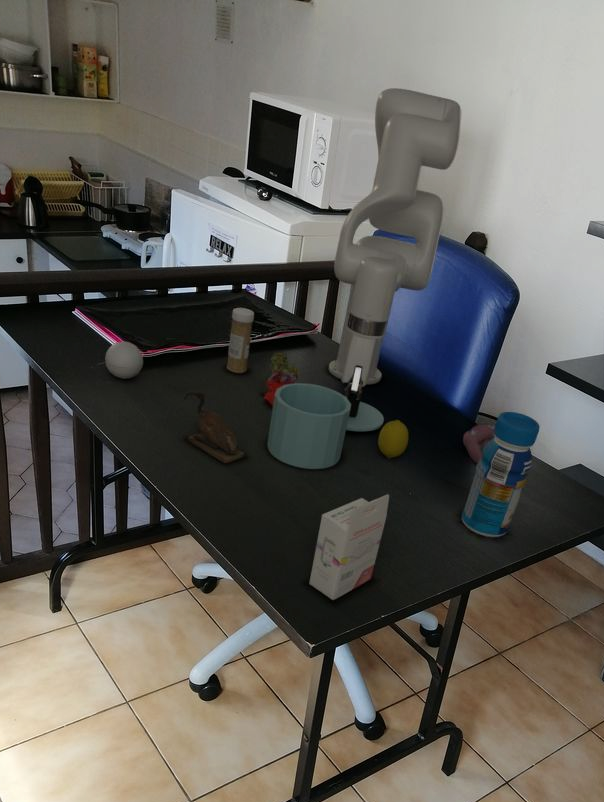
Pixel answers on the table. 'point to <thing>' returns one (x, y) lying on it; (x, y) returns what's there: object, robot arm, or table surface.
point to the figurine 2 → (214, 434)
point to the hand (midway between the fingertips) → (349, 410)
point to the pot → (308, 425)
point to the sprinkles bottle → (240, 340)
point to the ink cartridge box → (348, 546)
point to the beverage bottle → (501, 475)
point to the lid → (364, 417)
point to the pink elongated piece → (478, 440)
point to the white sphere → (124, 360)
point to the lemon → (393, 439)
